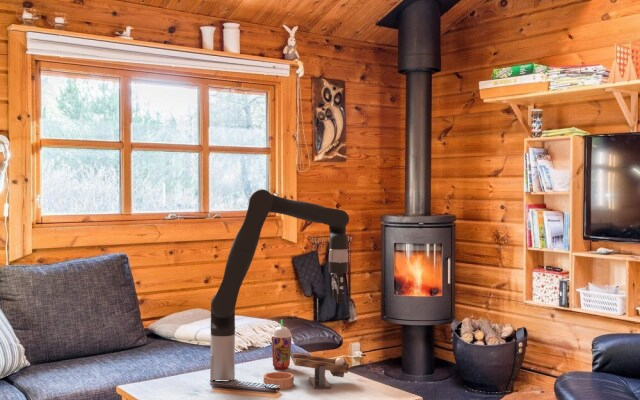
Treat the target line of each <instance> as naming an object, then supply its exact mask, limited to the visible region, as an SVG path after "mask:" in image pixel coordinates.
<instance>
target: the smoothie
mask: <svg viewBox="0 0 640 400" xmlns="http://www.w3.org/2000/svg"><path fill="white" fill-rule="evenodd" d="M270 337H271V352H272V367H274V368H273V369H274V370H276V371H285V370H288V369H289V367H290V363H291V356H290V353H292V352H291V350H292V349H291V348H292V333H291V331H290V329H289V328H288V327H287V326H283V319H280V325H279V326H277V327H276V328H274V330H273V331H272V333H271V335H270Z"/></svg>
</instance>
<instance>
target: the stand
mask: <svg viewBox="0 0 640 400" xmlns="http://www.w3.org/2000/svg"><path fill="white" fill-rule="evenodd" d="M308 380H309V382H310V384H311V386H312V387H313V389H314V390H322V389H323V390H326V389H327V390H328V389H329V390H330V389H331V385H330V383H329V382H328V380H327V378H326V370H325V366H319V369H315V368H314V376H309V377H308Z"/></svg>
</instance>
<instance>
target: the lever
mask: <svg viewBox="0 0 640 400" xmlns="http://www.w3.org/2000/svg"><path fill="white" fill-rule="evenodd" d="M290 359H291V361H292V363H293V364H294V366H297V367H305V368H309V369H310V368H312V369H314V370H315V369H319V366H325V371H329V372H330V373H331V376H332V377H338V378H344V376H345V374H349V373H348V372H349V368H350V363H349V362H348V361H347V359H346V358H343V359H344V361H345V364H344V365H339V364H336V363H335V361H336V359H337V358H336V359H334V358H329V357H323V356H322V357H321V356H315V355H308V354H302V353H297V352H296V353H295V352H290Z"/></svg>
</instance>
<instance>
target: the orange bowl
mask: <svg viewBox="0 0 640 400" xmlns="http://www.w3.org/2000/svg"><path fill="white" fill-rule="evenodd" d="M294 379H295V376H294V374H293V373H290V372H285V371H272V372H268V373H264V374H263V381H262V382H263V383H265V384H274V385H280V389H279V390H284V389H289V388H292V387H293V386H294V384H295V383H294ZM263 383H262V384H263Z"/></svg>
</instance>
